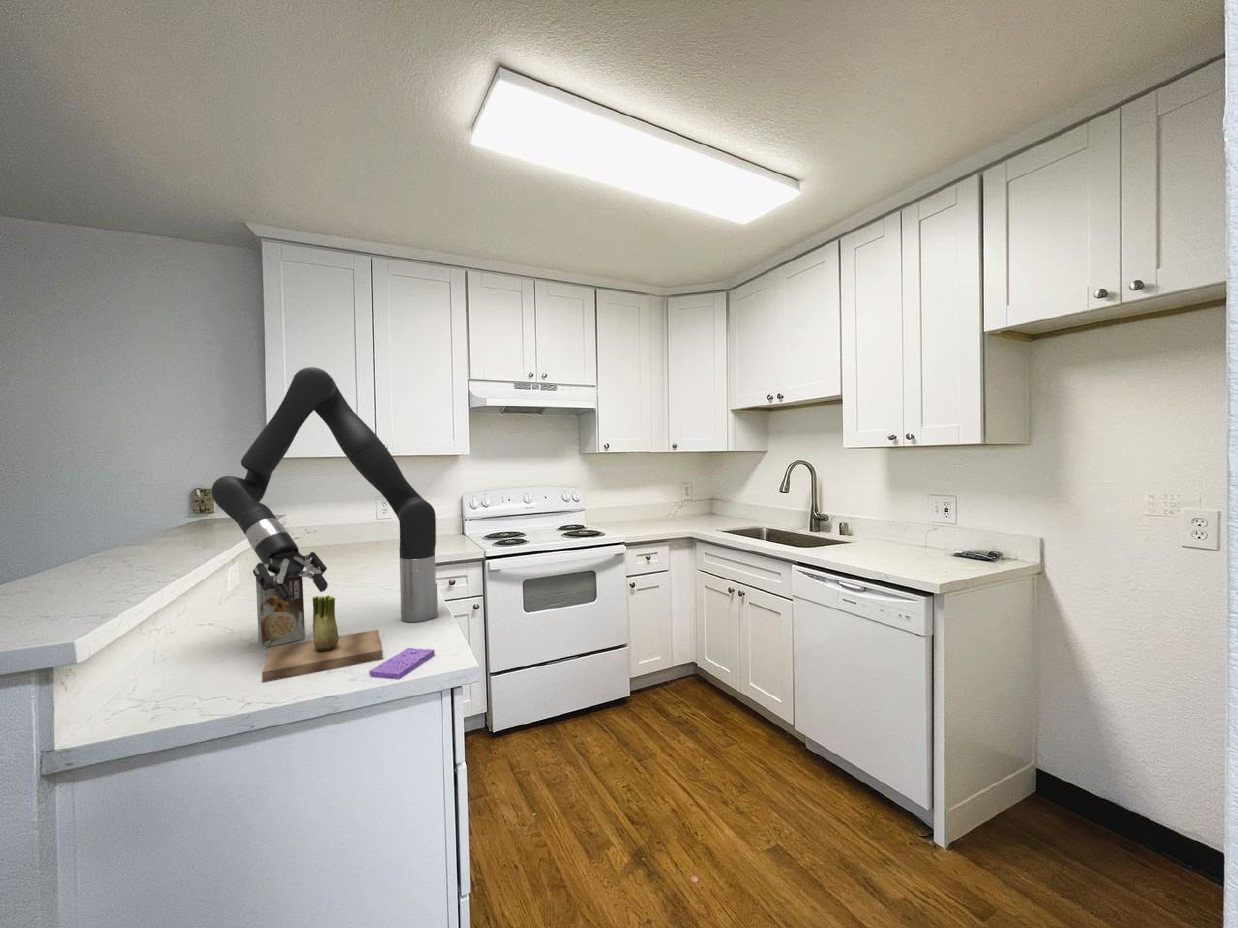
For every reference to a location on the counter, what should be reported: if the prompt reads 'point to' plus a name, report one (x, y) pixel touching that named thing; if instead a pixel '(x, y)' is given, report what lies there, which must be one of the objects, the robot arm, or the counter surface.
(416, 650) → the sponges
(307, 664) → the cutting board
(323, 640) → the fennel bulb
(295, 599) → the food box
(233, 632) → the counter surface
